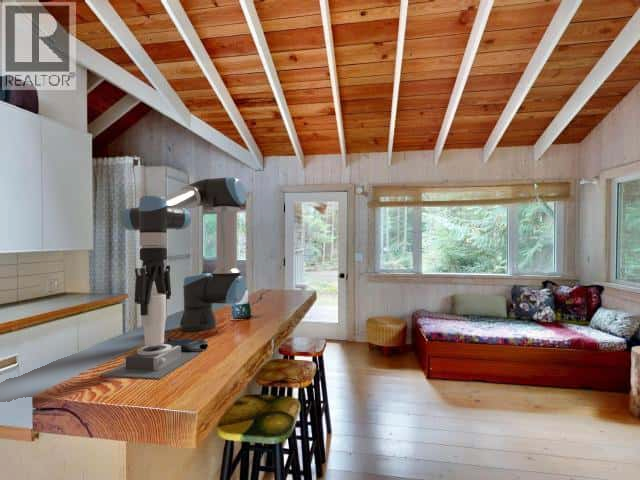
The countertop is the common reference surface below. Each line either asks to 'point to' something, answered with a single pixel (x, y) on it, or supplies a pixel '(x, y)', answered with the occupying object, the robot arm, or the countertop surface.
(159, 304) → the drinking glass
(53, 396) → the countertop surface
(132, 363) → the flat gray baseplate
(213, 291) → the robot arm
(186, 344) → the electronic device
